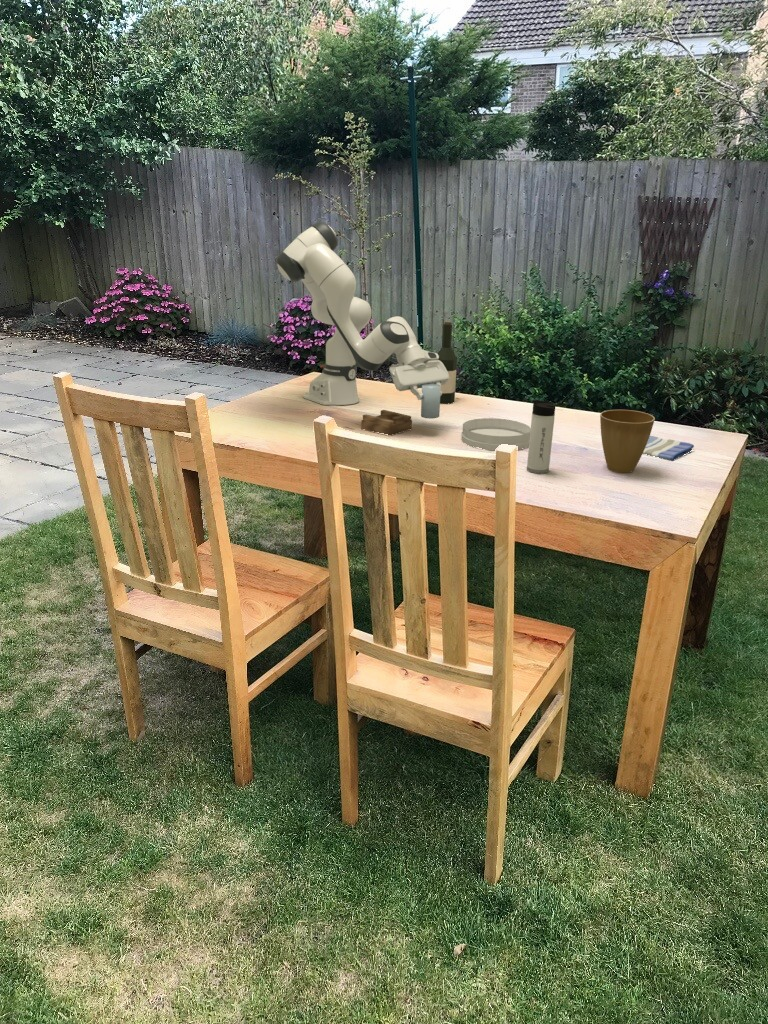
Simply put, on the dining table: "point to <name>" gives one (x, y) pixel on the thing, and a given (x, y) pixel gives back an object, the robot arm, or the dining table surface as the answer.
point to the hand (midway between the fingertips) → (430, 397)
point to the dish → (495, 433)
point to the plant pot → (624, 438)
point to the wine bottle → (448, 365)
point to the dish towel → (666, 448)
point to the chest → (387, 422)
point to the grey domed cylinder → (430, 401)
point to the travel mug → (541, 437)
